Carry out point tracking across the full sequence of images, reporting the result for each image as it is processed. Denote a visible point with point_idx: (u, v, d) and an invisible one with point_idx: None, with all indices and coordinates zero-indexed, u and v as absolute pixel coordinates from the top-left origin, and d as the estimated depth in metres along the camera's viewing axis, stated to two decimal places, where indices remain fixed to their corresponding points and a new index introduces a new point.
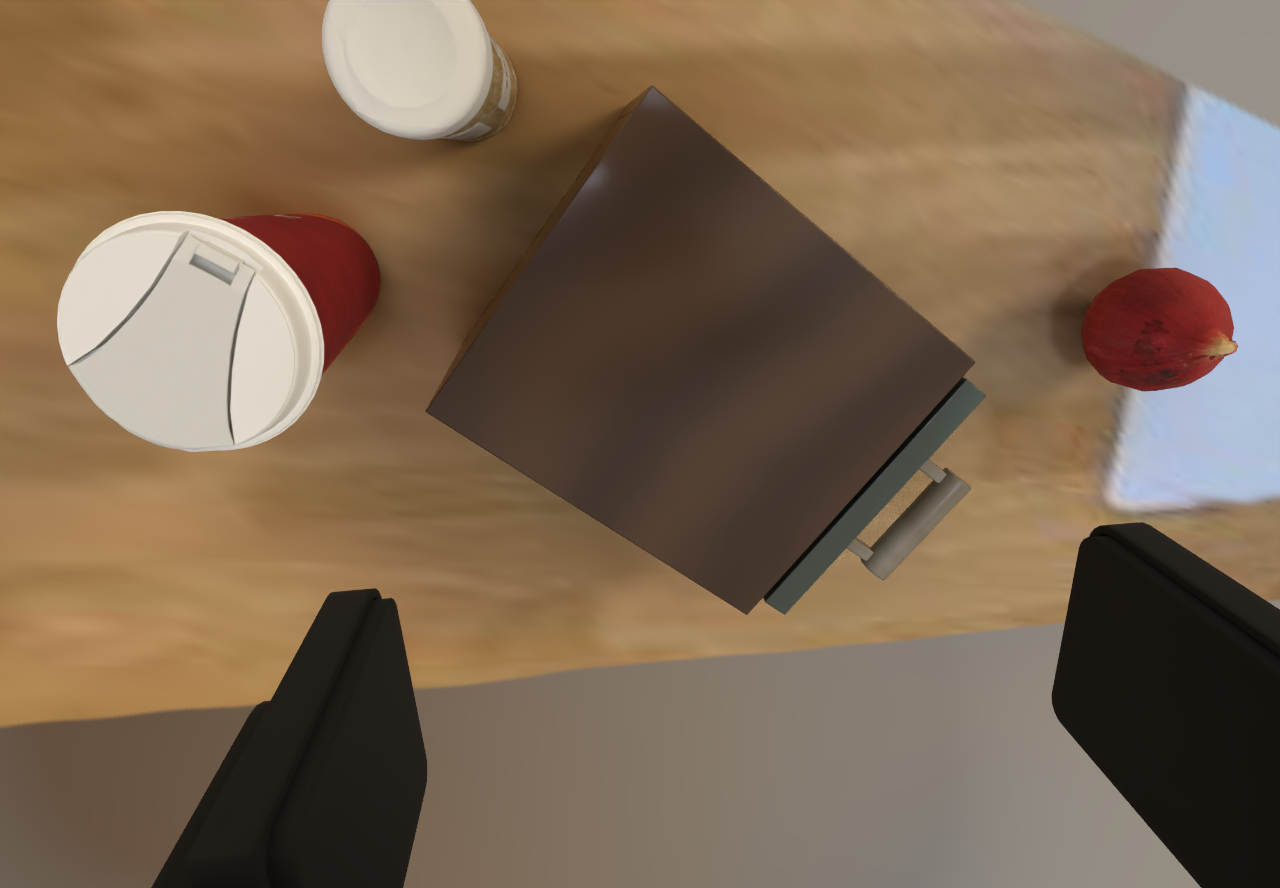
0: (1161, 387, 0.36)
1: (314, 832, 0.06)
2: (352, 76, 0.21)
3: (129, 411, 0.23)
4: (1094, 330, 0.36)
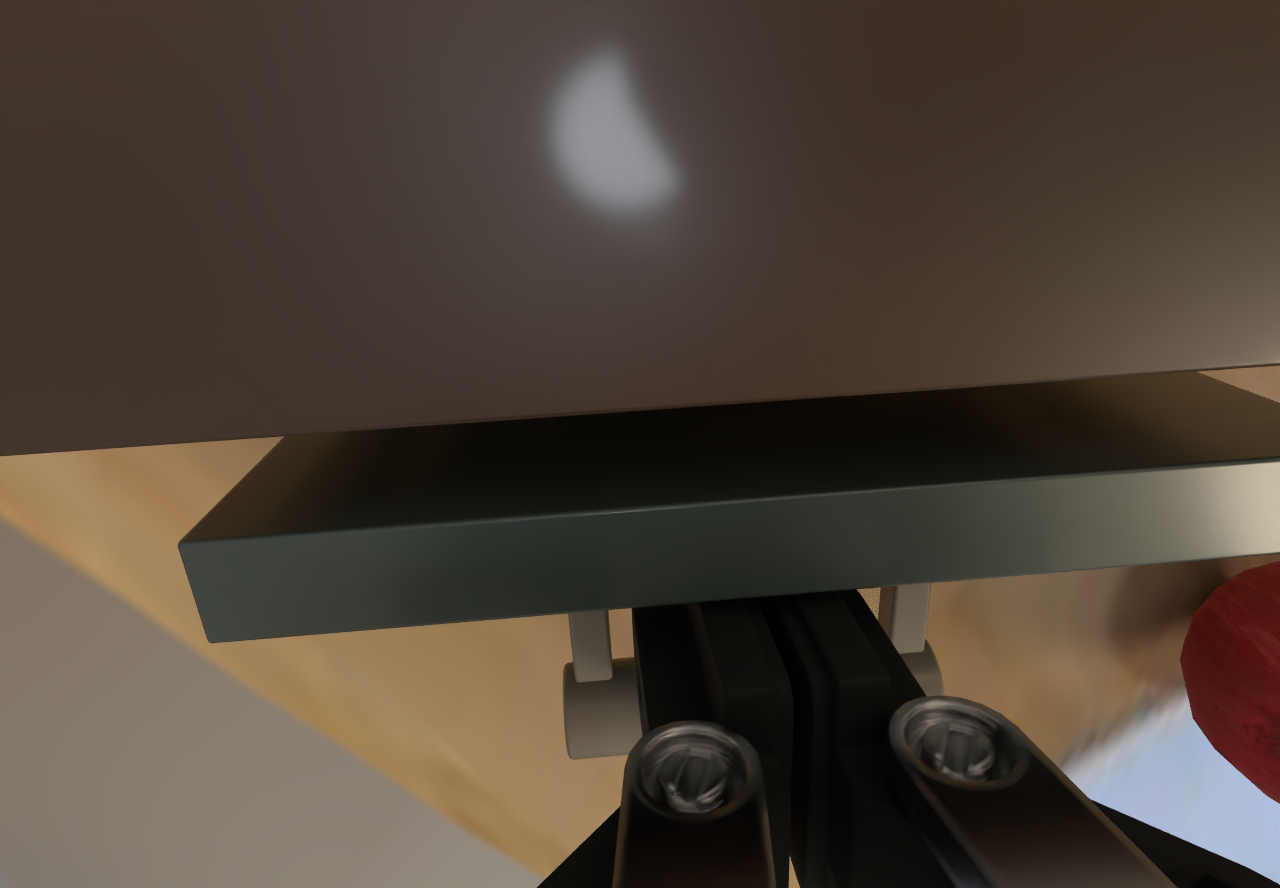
0: None
1: None
2: None
3: None
4: None
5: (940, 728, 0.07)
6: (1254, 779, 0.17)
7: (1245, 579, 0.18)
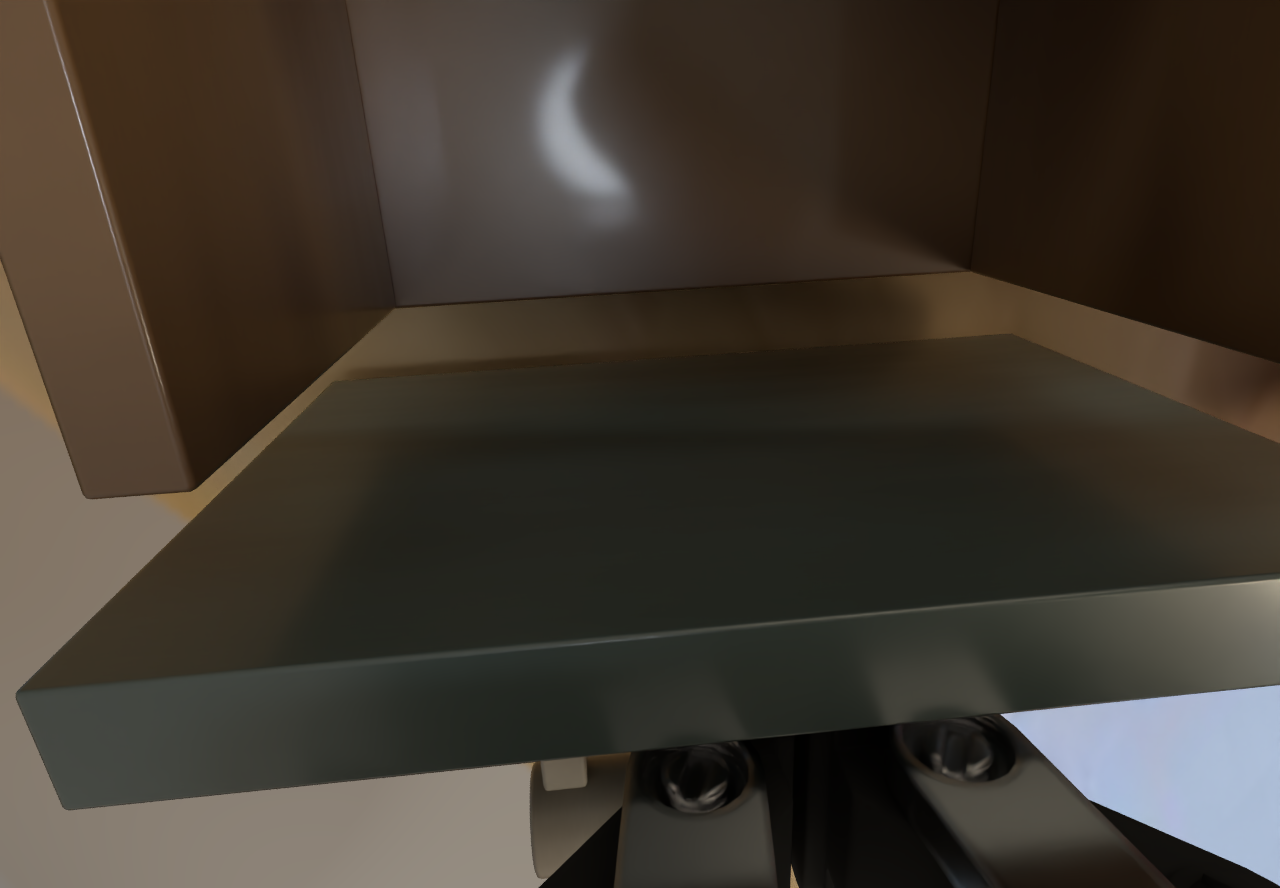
0: None
1: None
2: None
3: None
4: None
5: (939, 729, 0.07)
6: None
7: None
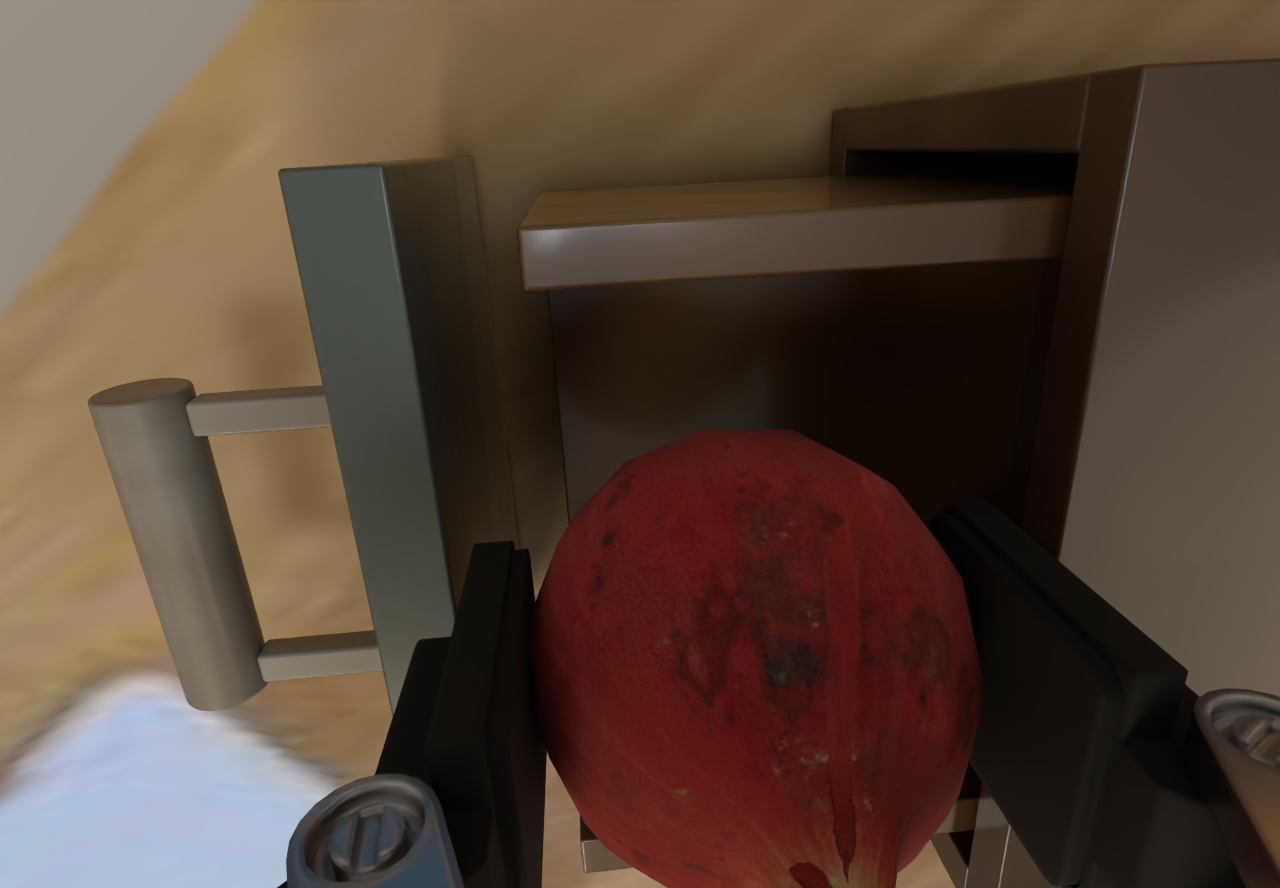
0: (661, 594, 0.08)
1: (514, 733, 0.07)
2: None
3: None
4: None
5: (1260, 721, 0.07)
6: (625, 525, 0.09)
7: None
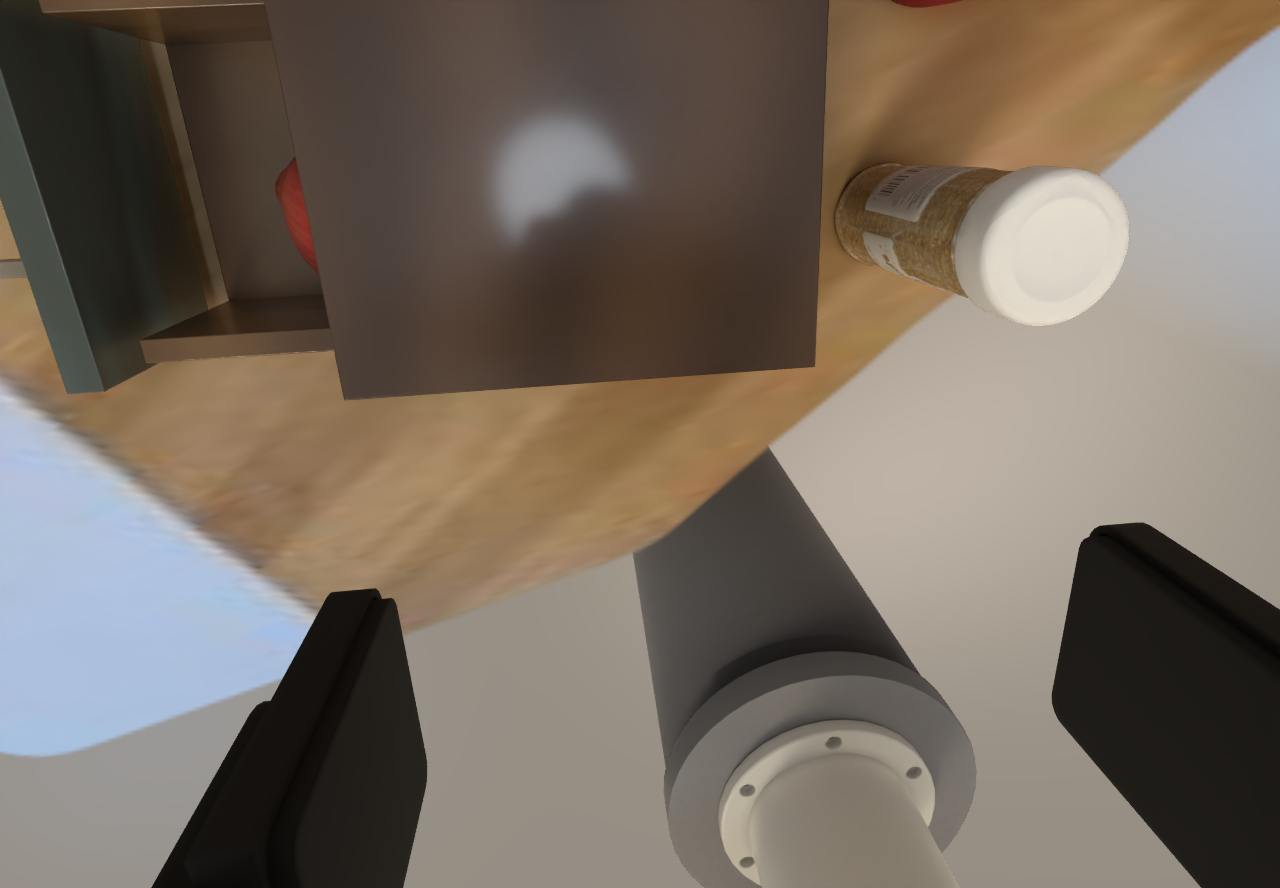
0: None
1: (314, 832, 0.06)
2: (1092, 198, 0.21)
3: None
4: None
5: None
6: None
7: None
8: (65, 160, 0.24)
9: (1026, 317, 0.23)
